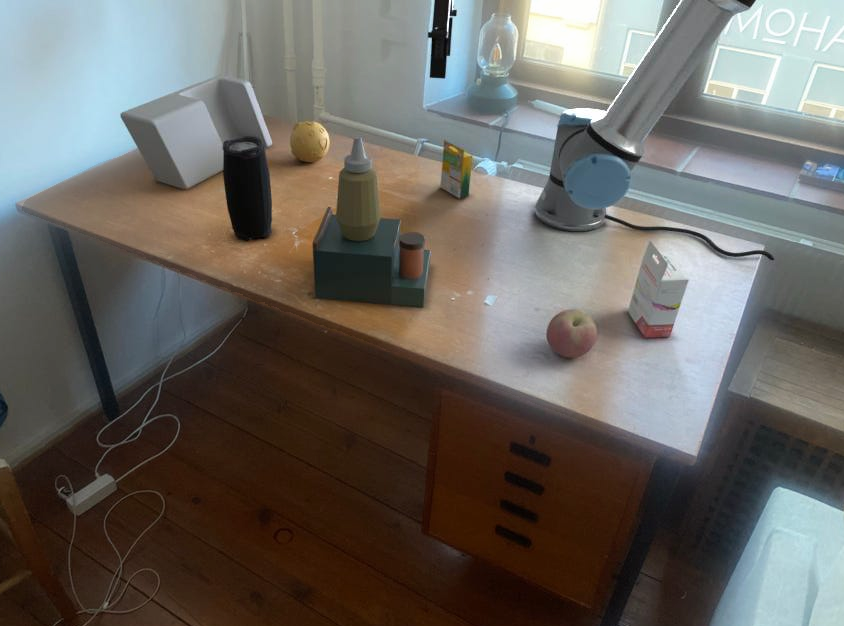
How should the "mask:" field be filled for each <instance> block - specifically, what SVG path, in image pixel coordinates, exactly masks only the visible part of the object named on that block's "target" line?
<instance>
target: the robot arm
mask: <svg viewBox="0 0 844 626" xmlns="http://www.w3.org/2000/svg"><path fill="white" fill-rule="evenodd" d="M756 1H757V0H680V1H679V3H678V5H676V8H675V9H674V10H673V12H672V14H671V15H670V17H669V18H668V19H667V21H666V23H665V24H664V25H663V27H662V29H661V30H660V31H659V33H658V35H657V36H656V37H655V39H654V41H653V42H652V43H651V45H650V46H649V48H648V50H647V51H646V52H645V54H644V56H643V57H642V59H641V60H640V62H639V63H638V65H637V66H636V67H635V69H634V70H633V72H632V73H631V75H630V76H629V78H628V80H627V81H626V83H625V84H624V85H623V87H622V89H621V90H620V91H619V93H618V94H617V96H616V97H615V99H614V100H613V101H612V103H611V104H610V106H609V107H608V109H607V111H606V110H601V109H595V108H570V109H567V110H564V111H563V112H561V114H560V116H559V119H558V123H557V124H556V127H557V128H556V135H555V141H554V147H553V151H552V157H551V158H552V159H551V164H550V165H551V166H550V171H549V175H548V180H547V182H546V184H545V186H544V187H543V190H542V191H541V193H540V195H539V197H538V199H537V200H536V204H535V207H534V214H535V216H536V218H537V219H538V220H539V221H540V222H542V223H543V224H544V225H547V226H549V227H551V228H554V229H558V230H562V231H567V232H588V231H593V230H596V229H598V228H600V227H602V226H603V224H604V223H605V222H606V221H605V220H608V221H611V222H614V223H617V224H620V225H622V226H624V227H627V228H630V229H632V230H636V231H637V230H638V231H646V232H647V231H666V232H675V233H681V234H687V235H690V236H691V235H692V236H695V237H697V238H700V239H701V240H703V241H705V242H706V243H707V244H708V245H709V247H710V248H712V249H713V250H714V251H715V252H717V253H718V254H721V255H723V256H726V257H730V258H731V257H733V258H742V257H749V256H755V255H761V256H764V257H766V258H767V259H768V260H769V261H775V257H774V256H773V254H772V253H769V252H768V251H766V250H762V249H761V250H760V249H757V250H749V251H742V252H730V251H727V250H724V249H722V248H720V247H719V246H718V245H717V244H715V242H713V240H711V238H709V237H708V236H706V234H703V233H701V232H698V231H695V230H692V229H687V228H681V227H674V226H673V227H671V226H659V225H656V226H644V225H643V226H642V225H637V224H632V223H630V222H627V221H625V220H622V219H620V218H618V217H614V216H611V215H609V214H607V209H608V208H609V207H612V206H614V205H616V204H617V203H619V202H620V201H621V200H623V198H624V197H625V196H626V195H627V193H628V192H629V190H630V187H631V183H632V171H633V170H634V168H635V167H636V166H637V165H638V163H639V161H640V160H641V159H642V157H643V156H644V154H645V148H644V147H645V146H644V140H645V139H646V138H647V136H648V135H649V133H650V132H651V131H652V129H653V128H654V127H655V126H656V124H657V123H658V122H659V120H660V118H661V116H662V115H663V114H664V113H665V111H666V110H667V108H668V107H669V106H670V104H671V103H672V101H674V99H675V97H676V96H677V95H678V93H679V92H680V90H681V89H682V87H684V85H685V83H686V82H687V81H688V79H689V78H690V76H691V75H693V73H694V71H695V69H697V67H698V66H699V65H700V63H701V61H702V60H703V58H704V57H705V56H706V55H707V53H708V52H709V50H710V48H712V46H713V44H714V43H715V42H716V40H717V39H718V38H719V36H720V35H721V33H723V30H724V29H725V28H726V27H727V25H728V24H729V23H730V21H731V20H732V19H733V17H734V16H735V15H738V14H740V13H743V12H747V11H749V10H751V8H752V7H753V5H754V4H755V3H756ZM454 2H455V0H434V2H433V14H432V26H431V31H428V32H427V38H428V39H431V43H430V63H429V65H430V66H429V79H445V80H446V78H447V77H446V75H447V63H448V62H447V61H448V57H450V56H451V52H452V51H451V49H452V35H453V20H454V17H457V16H458V15H457V14H458V9H454V8H455V4H454Z"/></svg>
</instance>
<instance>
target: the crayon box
mask: <svg viewBox="0 0 844 626" xmlns="http://www.w3.org/2000/svg"><path fill="white" fill-rule="evenodd" d="M442 149H443V152H442V162H441V163H442V164H441V175H440V189H443V190H444V191H446V192H448V193H449V194H451V195H453V196H454V197H456V198H458V200H459V199H463V198H466V197H469V195H470V186H471V175H472V165H473V155H472V154H470V153H469V152H468V153H467V152H465V150H464V149H463V148H461V147H459V146H457V145H455V144H453V143H451V142H449V141H447V140H445V139H444V140H443V148H442Z"/></svg>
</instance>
